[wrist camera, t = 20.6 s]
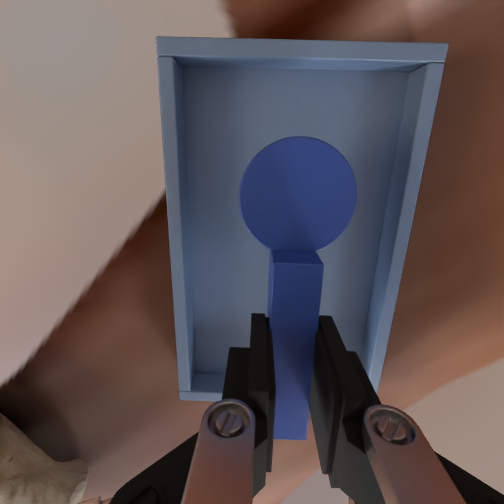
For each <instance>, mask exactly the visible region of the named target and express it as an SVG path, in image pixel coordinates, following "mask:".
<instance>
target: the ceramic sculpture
mask: <svg viewBox="0 0 504 504" xmlns="http://www.w3.org/2000/svg"><path fill="white" fill-rule="evenodd" d="M88 475H89V465H88V463H87V462H86V461H84V460H81V459H75V460H71V461H67V462H58V461H54V460H53V459H51V458H50V457H49V456H48V455H47V454H46V453H45V452H44V451H42V450H41V449H40V448H39V447H37V446H36V445H35V444H34V443H33V442H31V440H30V439H29V438H28V437H27V436H26V435H25V434H24V433H23V432H22V431H21V430H20V429H19V428H18V427H16V426H15V425H14V424H13V423H12V422H11V421H10V420H8V419H7V418H6V417H5V416H4V415H3V414H1V413H0V504H77V503H80V502H81V501H82V497H83V493H84V490H85V487H86V484H87V480H88Z"/></svg>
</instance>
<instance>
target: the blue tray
mask: <svg viewBox="0 0 504 504" xmlns="http://www.w3.org/2000/svg"><path fill="white" fill-rule="evenodd" d="M156 48H157V55H158V56H159V57H157V63H158V78H159V92H160V108H161V123H162V139H163V153H164V169H165V182H166V183H165V184H166V199H167V214H168V230H169V245H170V260H171V275H172V290H173V305H174V321H175V336H176V351H177V366H178V381H179V397H180V400H194V401H220V400H222V393H223V387H224V380H225V373H226V367H227V360H228V353H229V348H230V347H250V333H251V313H265V316H266V317H267V303H268V281H269V259H270V249H268V248H266V247H264V246H263V245H262V244H260V243H259V242H258V241H257V240H256V239H255V238H254V237H253V236H252V235H251V234H250V233H249V231H248V230H247V228H246V226H245V224H244V222H243V220H242V217H241V214H240V210H239V202H238V194H239V186H240V182H241V179H242V176H243V173H244V171H245V169H246V167H247V166H248V164H249V163H250V161H251V160H252V159H253V158H254V157H255V155H256V154H257V153H259V152H260V151H261V150H262V149H263V148H265V147H266V146H268V145H269V144H271V143H273V142H275V141H277V140H280V139H283V138H287V137H292V136H307V137H313V138H317V139H320V140H322V141H325V142H327V143H328V144H330V145H332V146H333V147H335V148H336V149H337V150H338V151H339V152H340V153H341V154H342V155H343V156H344V157H345V158H346V160H347V161H348V163H349V165H350V166H351V168H352V170H353V173H354V176H355V180H356V185H357V202H356V207H355V211H354V214H353V217H352V219H351V221H350V223H349V225H348V226H347V228H346V229H345V231H344V232H343V233H342V234H341V235H340V236H339V237H338V238H337V239H336V240H335V241H334V242H333V243H331V244H330V245H329V246H327V247H325V248H323V249H321V250H319V251H317V254H318V256H319V257H320V259H321V261H322V262H323V264H324V273H323V283H322V293H321V303H320V313H319V315H327V316H332V318H333V320H334V322H335V325H336V327H337V329H338V331H339V334H340V336H341V338H342V341H343V343H344V345H345V347H346V350H347V351H355V352H356V353H357V355H358V357H359V359H360V361H361V363H362V365H363V367H364V369H365V371H366V373H367V375H368V377H369V379H370V381H371V383H372V386H373V388H374V390H375V392H376V394H377V393H378V388H379V383H380V379H381V374H382V369H383V364H384V359H385V354H386V349H387V344H388V339H389V334H390V329H391V325H392V320H393V315H394V310H395V305H396V300H397V295H398V290H399V285H400V280H401V275H402V271H403V266H404V261H405V256H406V251H407V246H408V241H409V236H410V231H411V226H412V221H413V217H414V212H415V207H416V202H417V197H418V192H419V187H420V182H421V177H422V172H423V167H424V163H425V158H426V153H427V148H428V143H429V138H430V133H431V128H432V123H433V118H434V113H435V109H436V104H437V99H438V94H439V89H440V84H441V79H442V74H443V69H444V62H445V60H446V55H447V50H448V43H423V42H379V41H336V40H292V39H248V38H205V37H204V38H203V37H200V38H199V37H161V36H158V37H156Z"/></svg>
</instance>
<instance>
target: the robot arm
mask: <svg viewBox="0 0 504 504" xmlns="http://www.w3.org/2000/svg"><path fill="white" fill-rule="evenodd" d="M275 405H276V381H275V367H274V353H273V340H272V330H270V329H269V317H266V316H265V313H251V333H250V347H230V348H229V353H228V360H227V367H226V373H225V380H224V387H223V393H222V400H220V401H217V402H215V403H214V404H212V405H210V406H209V408H208V409H207V410H206V411H205V413H204V415H203V418H202V422H201V426H200V430H199V432H198V433H196V434H195V435H193V436H192V437H190V438H189V439H188V440H186V441H185V442H183V443H182V444H181V445H179V446H178V447H176V448H175V449H174V450H172V451H171V452H169V453H168V454H167V455H165V456H164V457H162V458H161V459H160V460H158V461H157V462H155V463H154V464H152V465H151V466H150V467H148V468H147V469H145V470H144V471H143V472H141V473H140V474H138V475H137V476H136V477H134V478H133V479H131V480H130V481H129V482H127V483H126V484H125V485H124V486H123V487H121V488H120V489H119V490H118V491H117V492H116V494H115V495H114V497H113V498H109V499H106V500H103V501H101V498H100V496H99V497H96V498H93V499H90V500H86V501H83V502H80V503H77V504H252V499H253V497H254V496H255V495H256V494H257V493H258V492H259V491H260V490H261V489H262V488H263V487H264V486H265V477H266V472H271V466H272V451H273V436H274V420H275ZM309 408H310V414H311V419H312V424H313V429H314V434H315V439H316V444H317V449H318V455H319V460H320V465H321V470H322V473H323V474H328V475H329V480H330V484H331V488H340V489H341V490H342V491H343V492H344V493H345V494H346V495H348V496H349V504H504V495H503V494H501V493H499V492H498V491H496V490H495V489H493V488H492V487H490V486H488V485H487V484H485V483H484V482H482V481H481V480H479V479H477V478H476V477H474V476H473V475H471V474H469V473H468V472H466V471H465V470H463V469H461V468H460V467H458V466H456V465H455V464H453V463H452V462H450V461H449V460H447V459H446V458H444V457H442V456H441V455H439V454H437V453H436V452H435V451H433V449H432V447H431V446H430V444H429V442H428V441H427V439H426V438H425V436H424V434H423V433H422V431H421V429H420V428H419V426H418V425H417V424H416V422H415V421H414V420H413V419H412V418H411V417H410V416H409V415H407V414H406V413H405V412H403V411H401V410H399V409H398V408H395V407H392V406H389V405H382V404H381V402H380V400H379V398H378V396H377V394H376V392H375V390H374V388H373V386H372V383H371V381H370V379H369V377H368V375H367V373H366V371H365V369H364V367H363V365H362V363H361V361H360V359H359V357H358V355H357V353H356V352H355V351H347V350H346V347H345V345H344V343H343V341H342V338H341V336H340V334H339V331H338V329H337V327H336V325H335V322H334V320H333V318H332V316H327V315H319V323H318V332H316V337H315V347H314V357H313V367H312V377H311V387H310V397H309Z"/></svg>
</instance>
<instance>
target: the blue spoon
mask: <svg viewBox="0 0 504 504" xmlns="http://www.w3.org/2000/svg"><path fill="white" fill-rule="evenodd" d="M238 202H239V210H240V214H241V217H242V220H243V222H244V224H245V226H246V228H247V230H248V231H249V233H250V234H251V235H252V236H253V237H254V238H255V239H256V240H257V241H258V242H259V243H260V244H262V245H263V246H264V247H266V248H268V249H270V259H269V281H268V303H267V317H269V329H270V330H272V340H273V353H274V367H275V381H276V405H275V420H274V436H273V439H286V440H307V432H308V422H309V412H310V408H309V397H310V387H311V377H312V367H313V357H314V347H315V337H316V332H318V323H319V313H320V303H321V293H322V283H323V273H324V264H323V262H322V261H321V259H320V257H319V256H318V254H317V251H319V250H321V249H323V248H325V247H327V246H329V245H330V244H331V243H333V242H334V241H335V240H336V239H337V238H338V237H339V236H340V235H341V234H342V233H343V232H344V231H345V229H346V228H347V226H348V225H349V223H350V221H351V219H352V217H353V214H354V211H355V207H356V202H357V185H356V180H355V176H354V173H353V170H352V168H351V166H350V165H349V163H348V161H347V160H346V158H345V157H344V156H343V155H342V154H341V153H340V152H339V151H338V150H337V149H336V148H335V147H333V146H332V145H330V144H328V143H327V142H325V141H322V140H320V139H317V138H313V137H307V136H292V137H287V138H283V139H280V140H277V141H275V142H273V143H271V144H269V145H268V146H266V147H265V148H263V149H262V150H261V151H260V152H259V153H257V154H256V155H255V157H254V158H253V159H252V160H251V161H250V163H249V164H248V166H247V167H246V169H245V171H244V173H243V176H242V179H241V182H240V186H239V194H238Z"/></svg>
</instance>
